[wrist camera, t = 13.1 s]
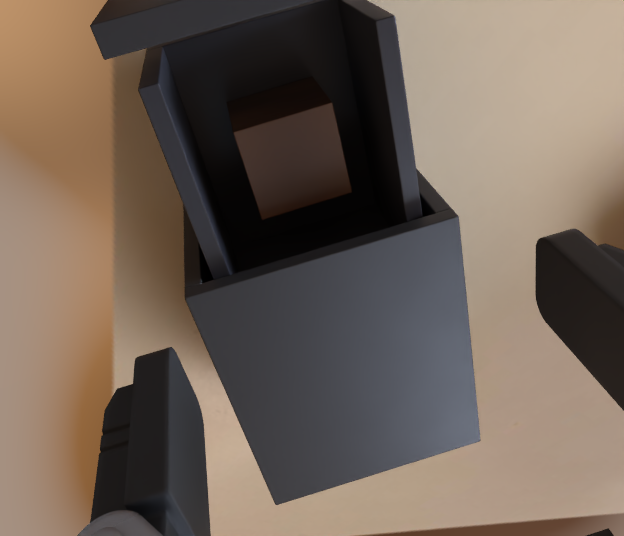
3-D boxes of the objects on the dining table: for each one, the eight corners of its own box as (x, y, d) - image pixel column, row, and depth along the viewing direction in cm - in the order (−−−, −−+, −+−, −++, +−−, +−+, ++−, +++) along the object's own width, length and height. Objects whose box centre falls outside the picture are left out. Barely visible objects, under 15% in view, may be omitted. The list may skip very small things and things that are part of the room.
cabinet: (183, 203, 34) (184, 298, 26) (393, 141, 34) (458, 215, 26) (257, 390, 42) (275, 505, 34) (424, 339, 43) (480, 441, 35)
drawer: (67, -120, 24) (26, -126, 18) (332, -192, 25) (386, -223, 18) (212, 255, 35) (219, 337, 28) (396, 200, 35) (445, 268, 29)
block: (252, 182, 32) (262, 220, 28) (225, 102, 29) (232, 132, 25) (332, 157, 32) (352, 192, 28) (312, 75, 29) (332, 101, 25)
